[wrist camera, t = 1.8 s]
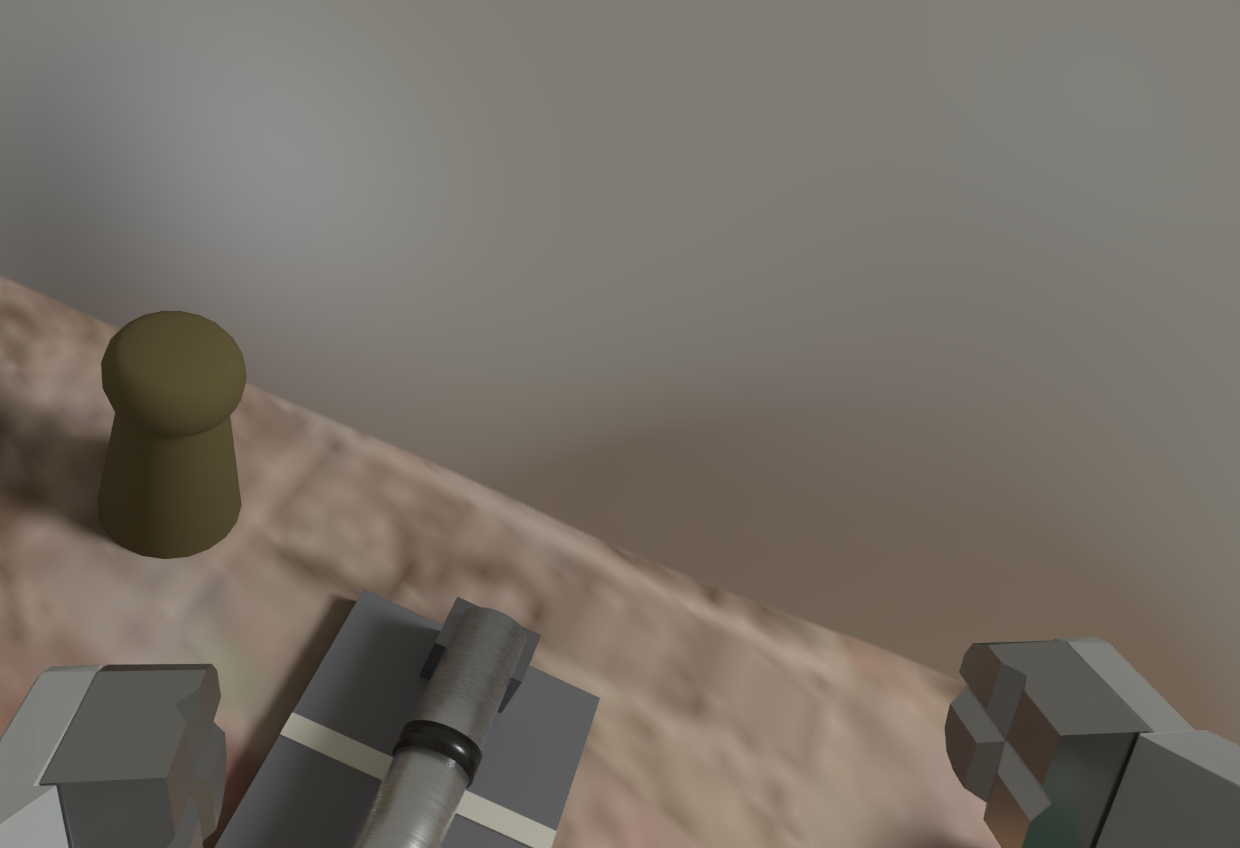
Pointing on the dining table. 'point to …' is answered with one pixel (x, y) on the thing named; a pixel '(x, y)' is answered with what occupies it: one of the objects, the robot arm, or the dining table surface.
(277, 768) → the base board
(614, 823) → the dining table surface
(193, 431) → the cork
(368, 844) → the grey banded bar
